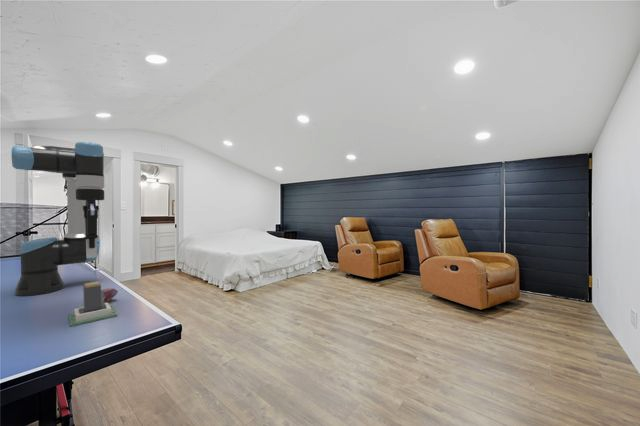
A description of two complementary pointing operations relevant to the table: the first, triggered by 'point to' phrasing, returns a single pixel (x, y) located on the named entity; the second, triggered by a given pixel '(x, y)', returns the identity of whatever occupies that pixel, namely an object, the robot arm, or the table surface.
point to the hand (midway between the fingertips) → (91, 257)
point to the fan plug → (93, 297)
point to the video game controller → (109, 294)
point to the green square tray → (91, 315)
